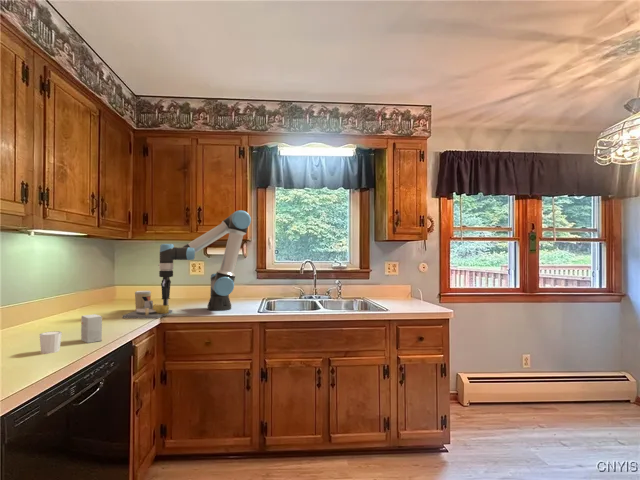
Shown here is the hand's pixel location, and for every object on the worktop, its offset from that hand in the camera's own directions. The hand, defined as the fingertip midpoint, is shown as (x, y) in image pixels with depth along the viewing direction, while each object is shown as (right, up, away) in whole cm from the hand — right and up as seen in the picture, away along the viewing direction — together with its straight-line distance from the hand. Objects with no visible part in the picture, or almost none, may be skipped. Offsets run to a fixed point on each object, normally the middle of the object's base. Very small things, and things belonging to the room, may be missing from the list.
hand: (165, 310), depth 218 cm
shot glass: (-12, -1, -77) cm, 78 cm away
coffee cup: (-21, -3, +16) cm, 27 cm away
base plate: (-10, -3, 0) cm, 11 cm away
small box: (-7, -2, -60) cm, 60 cm away
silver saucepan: (-7, -1, 0) cm, 7 cm away
